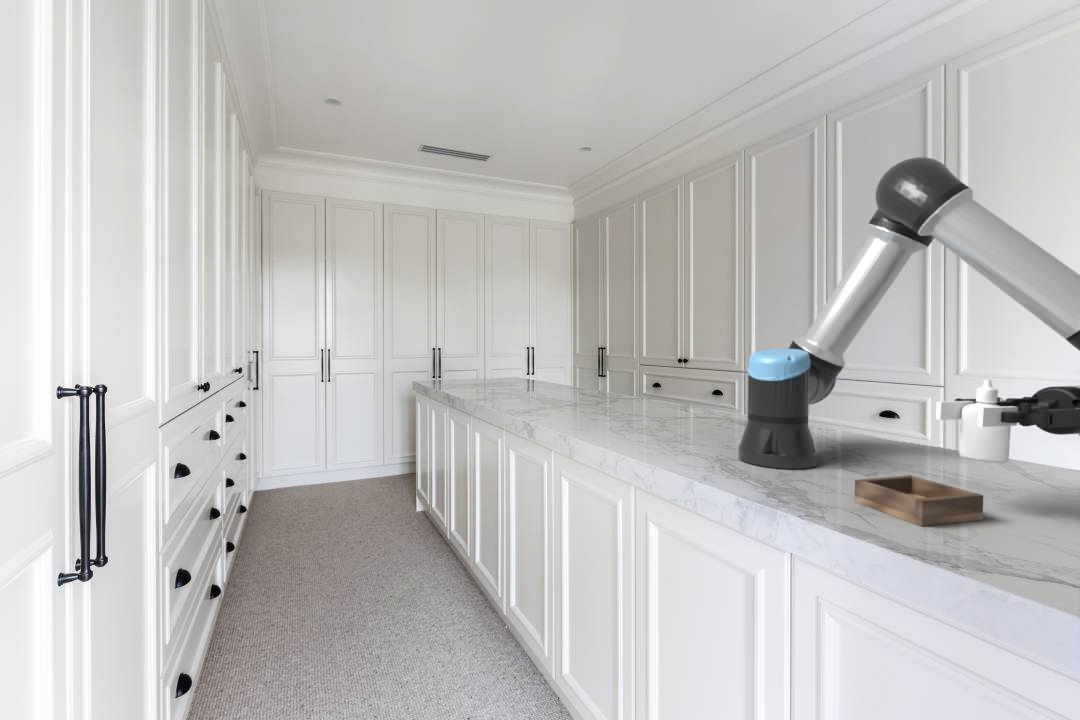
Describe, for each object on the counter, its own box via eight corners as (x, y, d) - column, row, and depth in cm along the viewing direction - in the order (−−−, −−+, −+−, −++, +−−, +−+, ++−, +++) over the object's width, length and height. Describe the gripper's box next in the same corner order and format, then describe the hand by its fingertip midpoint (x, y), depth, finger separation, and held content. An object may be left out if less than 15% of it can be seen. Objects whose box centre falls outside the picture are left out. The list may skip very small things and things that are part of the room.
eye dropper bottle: (969, 454, 81) (973, 378, 80) (1014, 462, 76) (1019, 381, 75) (953, 456, 79) (957, 378, 78) (997, 465, 74) (1003, 382, 73)
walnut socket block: (854, 501, 81) (855, 479, 81) (909, 496, 84) (910, 475, 84) (921, 526, 70) (922, 501, 70) (982, 519, 73) (983, 495, 73)
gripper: (1150, 445, 73) (1029, 453, 67) (1005, 423, 90) (900, 427, 85) (1154, 393, 72) (1033, 396, 66) (1007, 380, 90) (902, 382, 84)
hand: (958, 413), depth 76 cm, fingers closed on eye dropper bottle, 5 cm apart
